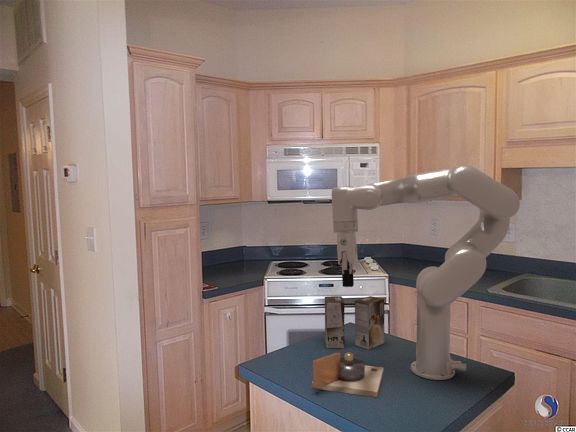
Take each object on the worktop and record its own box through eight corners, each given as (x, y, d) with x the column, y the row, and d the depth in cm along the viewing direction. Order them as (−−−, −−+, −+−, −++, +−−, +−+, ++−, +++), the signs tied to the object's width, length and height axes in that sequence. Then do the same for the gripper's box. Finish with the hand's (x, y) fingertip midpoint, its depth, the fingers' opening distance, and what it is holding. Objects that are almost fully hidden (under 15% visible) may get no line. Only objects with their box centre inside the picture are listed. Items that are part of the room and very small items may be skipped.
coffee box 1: (344, 348, 151) (345, 302, 150) (326, 348, 151) (326, 302, 150) (342, 339, 160) (342, 295, 159) (324, 339, 160) (324, 295, 159)
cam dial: (348, 364, 133) (348, 341, 132) (371, 375, 126) (371, 350, 125) (304, 380, 122) (304, 355, 122) (325, 393, 115) (325, 366, 115)
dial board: (383, 372, 131) (383, 367, 131) (377, 397, 116) (377, 391, 116) (324, 365, 137) (324, 360, 137) (311, 388, 122) (311, 382, 122)
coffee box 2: (370, 338, 160) (370, 295, 159) (384, 343, 155) (385, 298, 154) (354, 345, 154) (354, 300, 152) (369, 350, 149) (369, 303, 148)
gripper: (354, 229, 125) (357, 292, 127) (360, 224, 140) (363, 281, 141) (328, 230, 127) (331, 292, 129) (337, 224, 142) (340, 280, 143)
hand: (348, 286), depth 135 cm, fingers closed
